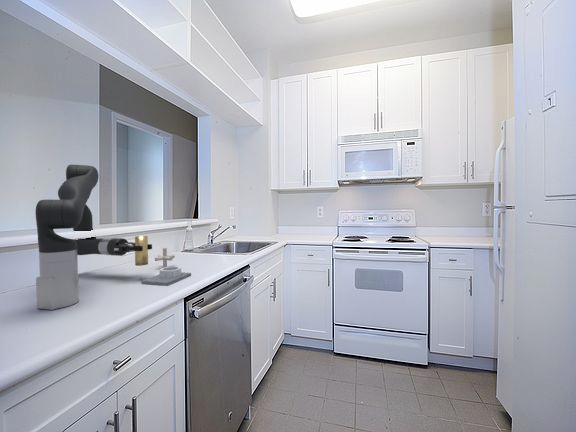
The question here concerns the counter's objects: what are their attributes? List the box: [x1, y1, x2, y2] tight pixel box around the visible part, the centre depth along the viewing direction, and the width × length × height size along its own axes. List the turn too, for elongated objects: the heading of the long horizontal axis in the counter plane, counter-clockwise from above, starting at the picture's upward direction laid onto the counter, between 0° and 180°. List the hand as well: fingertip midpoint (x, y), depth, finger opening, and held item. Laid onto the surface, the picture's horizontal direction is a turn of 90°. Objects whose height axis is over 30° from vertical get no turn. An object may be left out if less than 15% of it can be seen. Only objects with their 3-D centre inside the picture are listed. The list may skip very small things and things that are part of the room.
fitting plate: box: [141, 265, 192, 287], centre depth 114 cm, size 16×12×4 cm
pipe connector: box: [154, 247, 176, 268], centre depth 136 cm, size 10×10×10 cm
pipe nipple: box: [134, 235, 149, 267], centre depth 114 cm, size 5×5×12 cm
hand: (146, 247), depth 114 cm, fingers closed on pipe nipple, 4 cm apart
